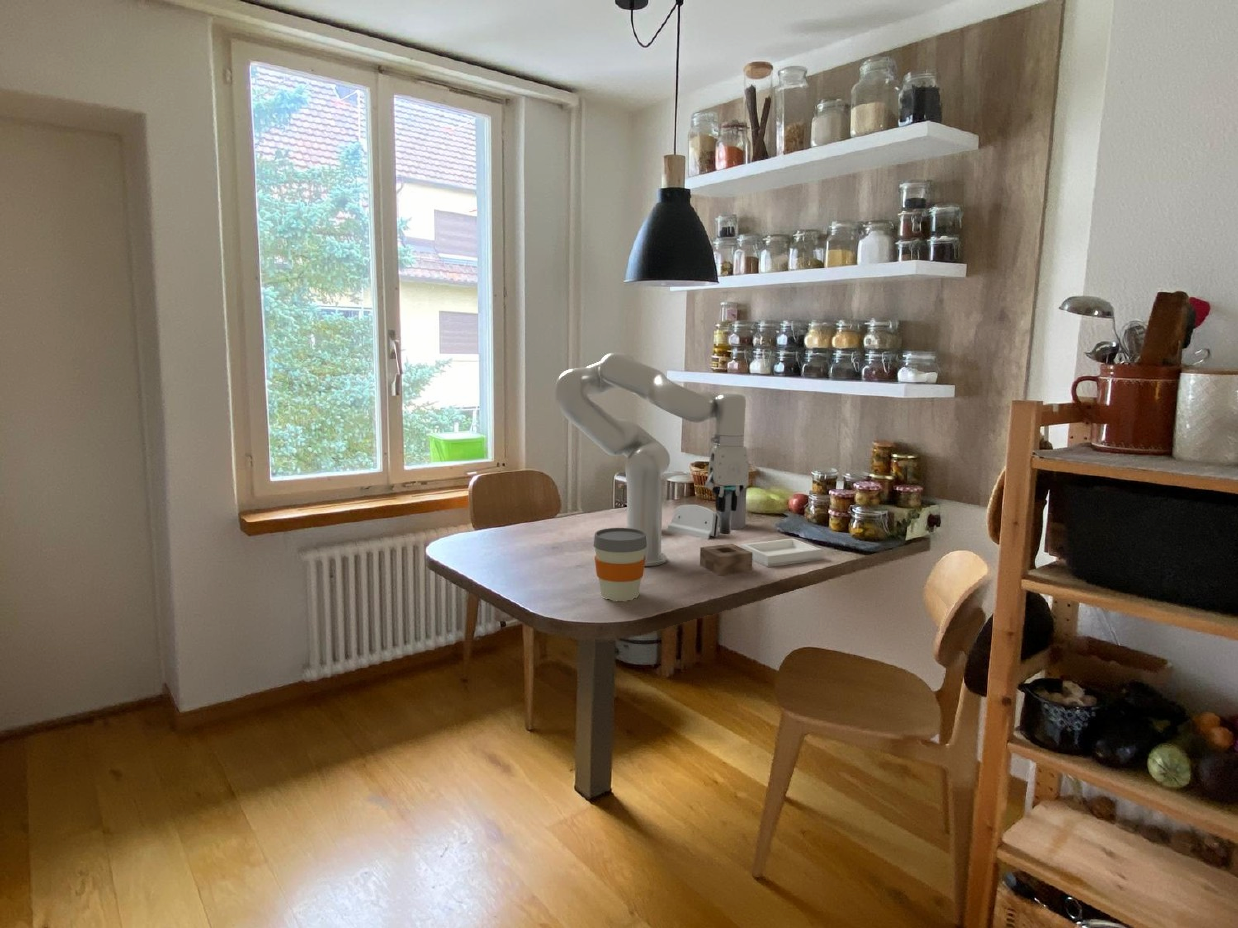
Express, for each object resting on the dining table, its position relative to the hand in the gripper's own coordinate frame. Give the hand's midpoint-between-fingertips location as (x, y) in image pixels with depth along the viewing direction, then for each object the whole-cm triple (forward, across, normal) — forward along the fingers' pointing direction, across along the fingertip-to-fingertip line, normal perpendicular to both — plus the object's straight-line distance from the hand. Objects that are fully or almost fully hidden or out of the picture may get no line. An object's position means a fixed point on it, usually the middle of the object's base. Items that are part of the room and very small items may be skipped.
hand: (726, 509), depth 197 cm
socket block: (+16, 0, 0) cm, 16 cm away
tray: (+16, +20, +3) cm, 26 cm away
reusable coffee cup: (+16, -34, -9) cm, 39 cm away
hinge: (+17, +12, +36) cm, 42 cm away
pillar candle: (+16, +28, +40) cm, 51 cm away
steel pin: (+6, 0, 0) cm, 6 cm away
